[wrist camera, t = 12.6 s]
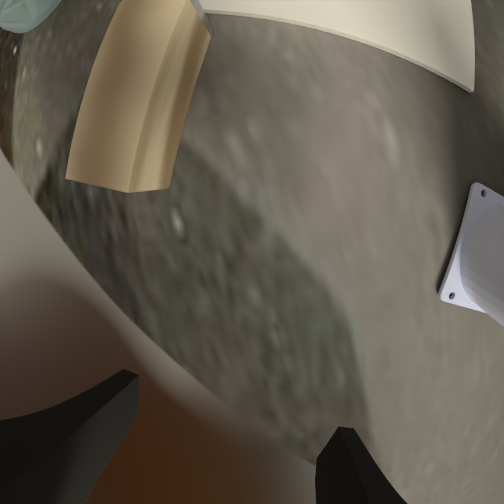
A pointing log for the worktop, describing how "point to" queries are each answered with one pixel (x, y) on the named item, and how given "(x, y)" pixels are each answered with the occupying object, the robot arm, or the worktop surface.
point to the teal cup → (25, 13)
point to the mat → (382, 27)
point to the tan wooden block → (139, 95)
